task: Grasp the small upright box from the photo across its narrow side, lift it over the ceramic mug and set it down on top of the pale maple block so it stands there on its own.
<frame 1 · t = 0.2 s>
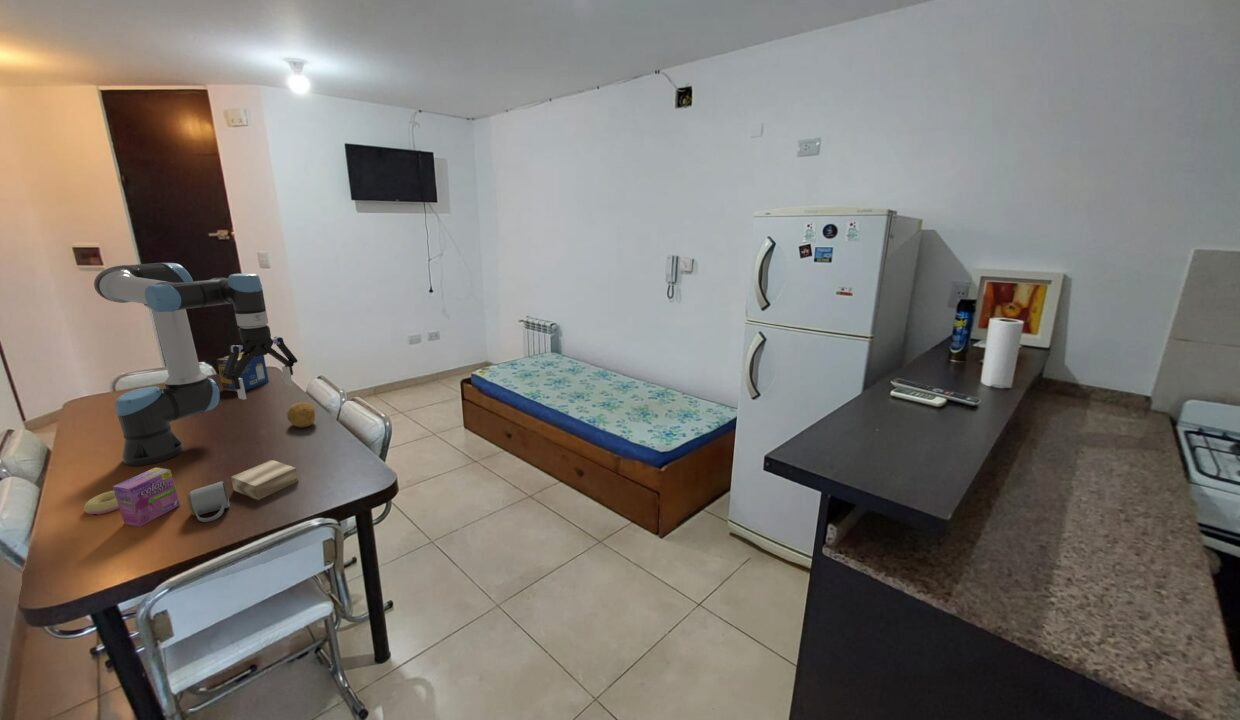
hand: (266, 391, 150), 28 cm above the table, fingers open, 13 cm apart
box: (153, 515, 134), on the table
ceramic mug: (213, 512, 136), on the table
donut: (111, 507, 138), on the table
protein box: (247, 386, 234), on the table
maple block: (267, 486, 150), on the table
potato: (303, 425, 193), on the table
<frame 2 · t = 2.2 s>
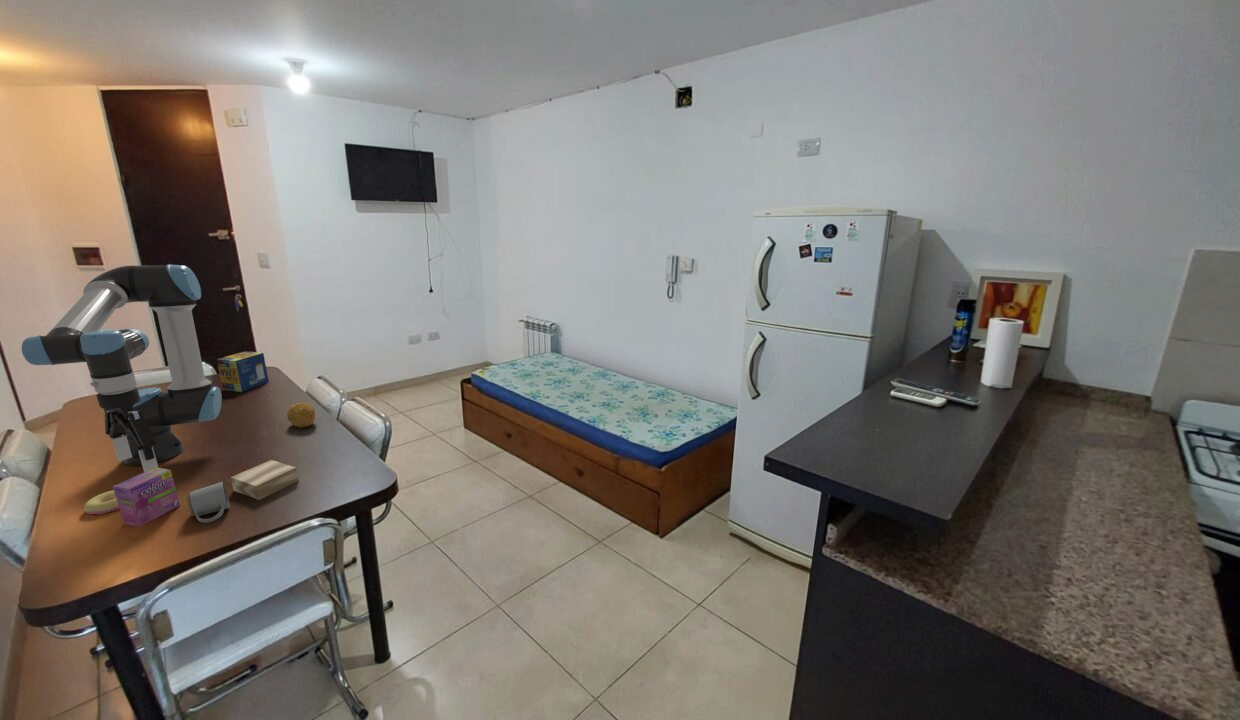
hand: (138, 464, 129), 16 cm above the table, fingers open, 13 cm apart
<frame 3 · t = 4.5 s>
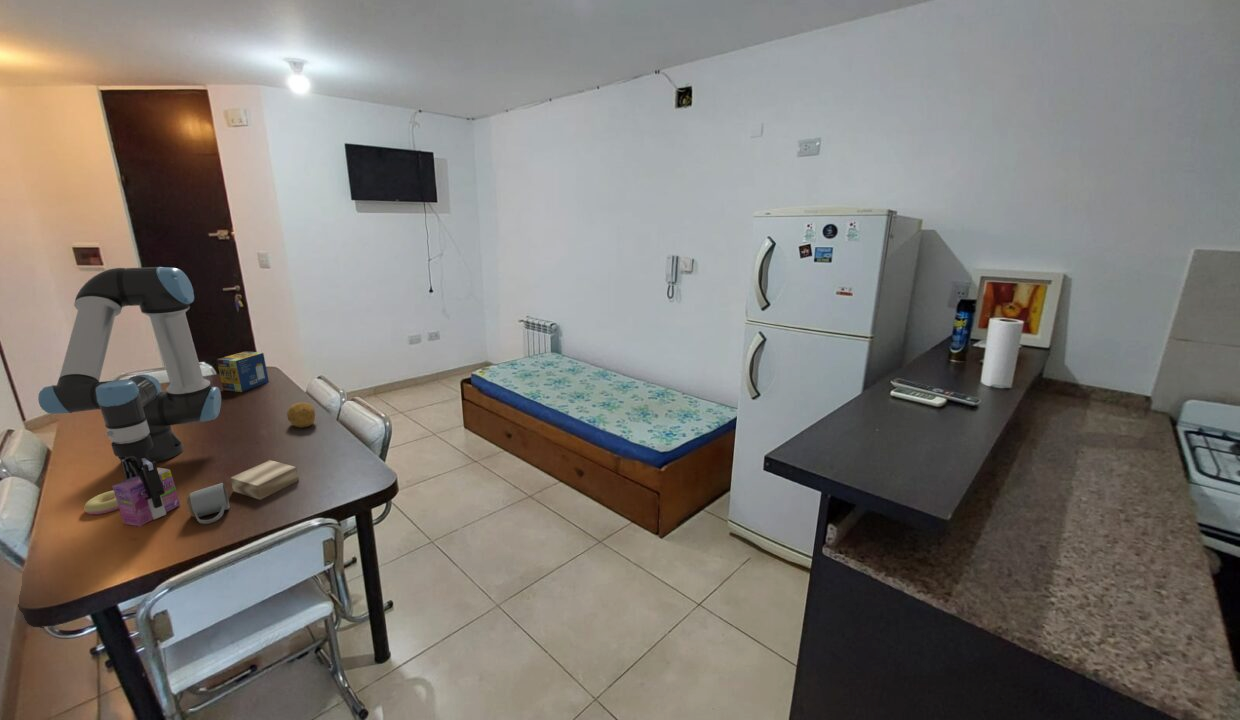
hand: (152, 513, 134), 0 cm above the table, fingers closed on box, 6 cm apart
box: (153, 515, 134), on the table, touching gripper
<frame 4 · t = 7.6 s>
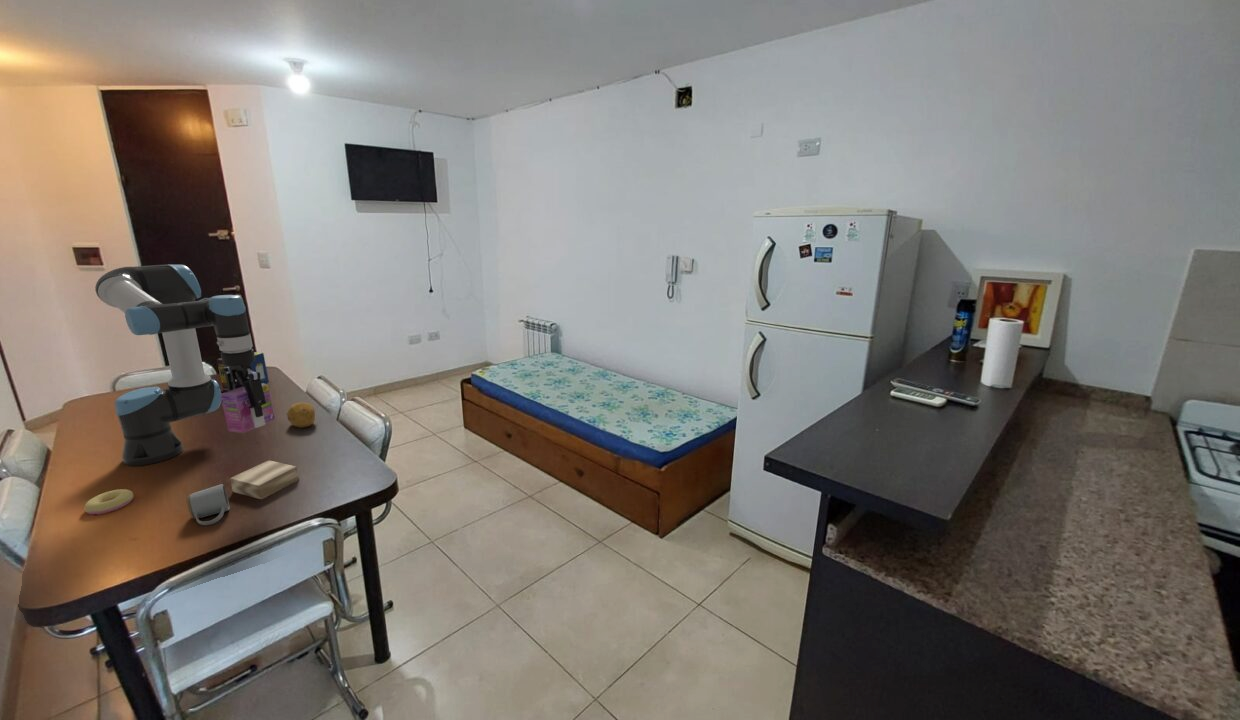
hand: (252, 423, 143), 21 cm above the table, fingers closed on box, 6 cm apart
box: (252, 426, 143), point 20 cm above the table, touching gripper
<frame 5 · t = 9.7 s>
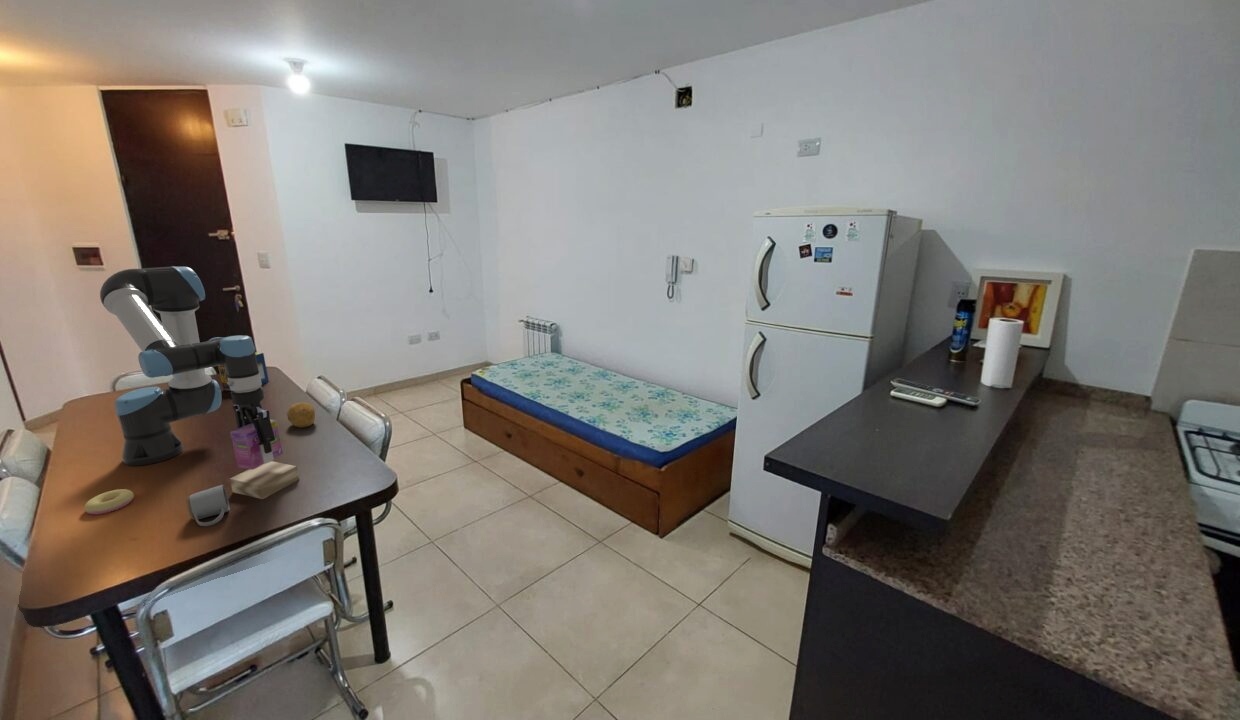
hand: (261, 459, 147), 9 cm above the table, fingers closed on box, 6 cm apart
box: (261, 461, 147), point 8 cm above the table, touching gripper
when the fingers open (7 cm above the table, at t = 11.0 s): box drops 2 cm, resting on maple block.
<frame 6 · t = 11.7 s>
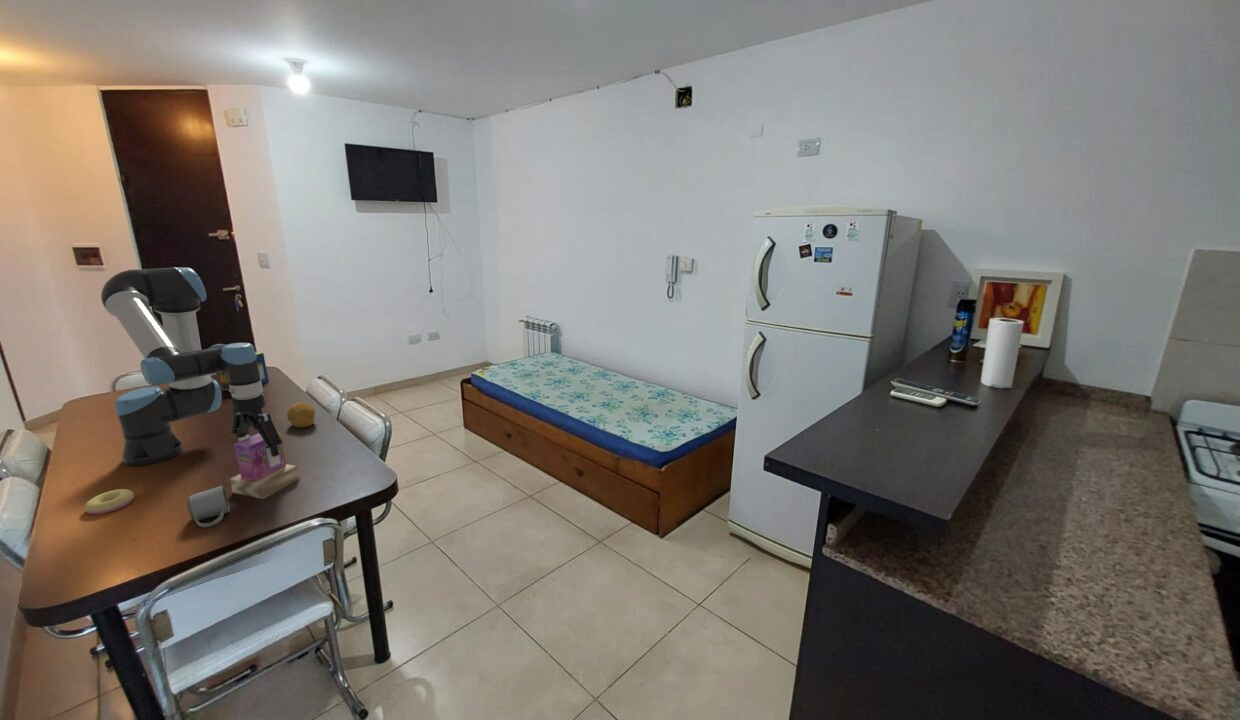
hand: (261, 460, 147), 9 cm above the table, fingers open, 13 cm apart
box: (264, 472, 148), point 4 cm above the table, touching maple block
maple block: (266, 486, 150), on the table, touching box
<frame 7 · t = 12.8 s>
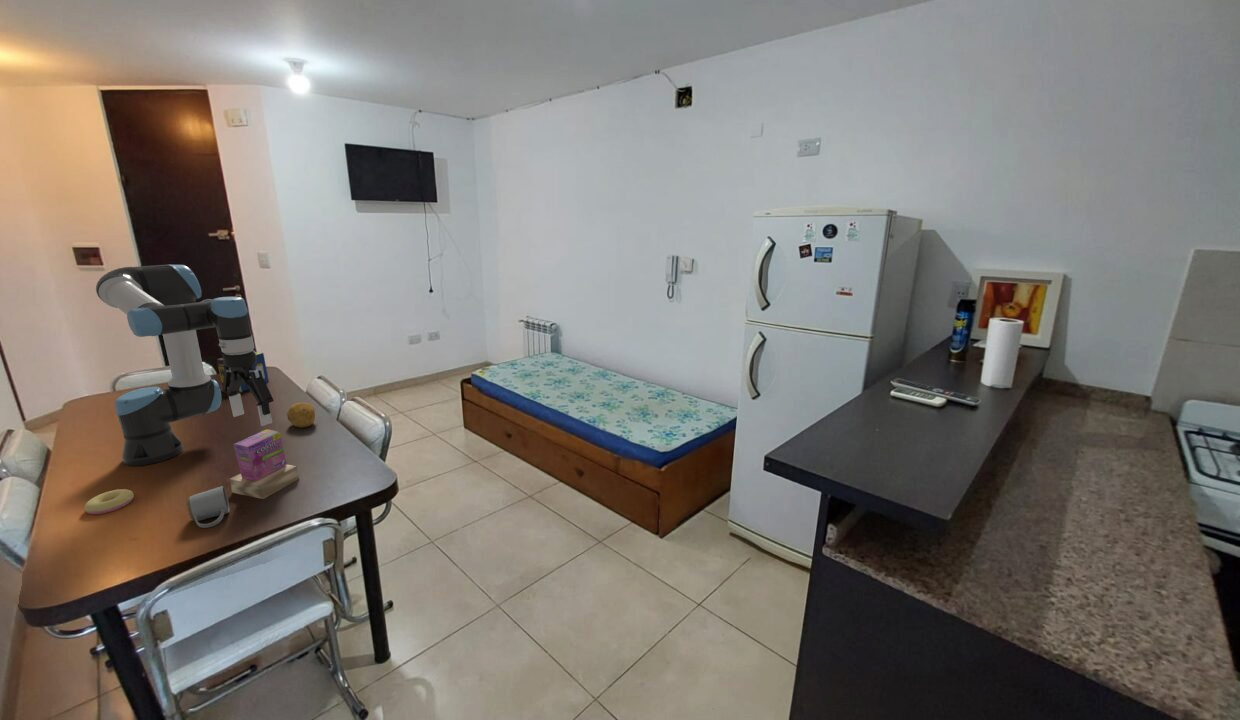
hand: (252, 419, 143), 22 cm above the table, fingers open, 13 cm apart
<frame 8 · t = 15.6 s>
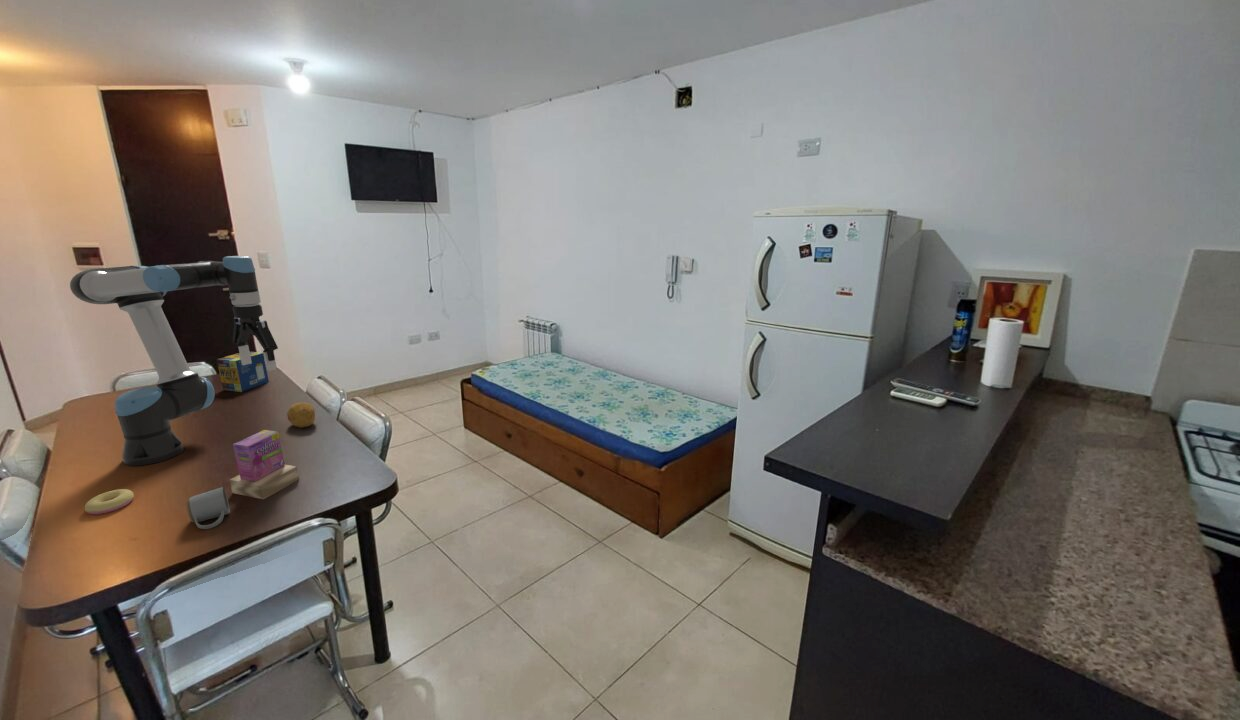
hand: (259, 367, 161), 32 cm above the table, fingers open, 13 cm apart
at the end: box inside the target area on the maple block (0.6 cm from its centre), point 4.8 cm above the maple block's base; box tilted 0°; the gripper is holding nothing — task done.
